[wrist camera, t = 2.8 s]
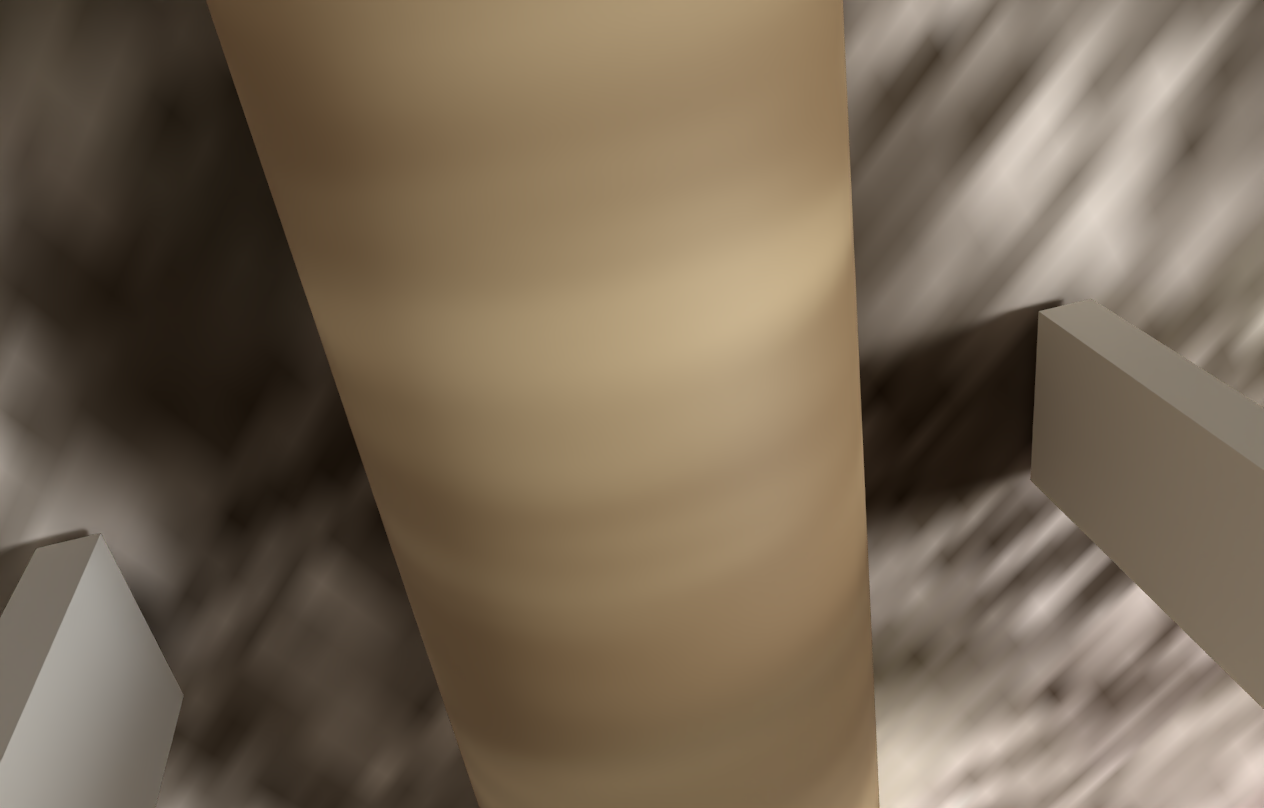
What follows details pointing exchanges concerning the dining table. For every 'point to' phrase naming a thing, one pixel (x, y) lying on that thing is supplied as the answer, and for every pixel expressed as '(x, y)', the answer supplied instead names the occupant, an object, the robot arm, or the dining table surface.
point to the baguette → (595, 373)
